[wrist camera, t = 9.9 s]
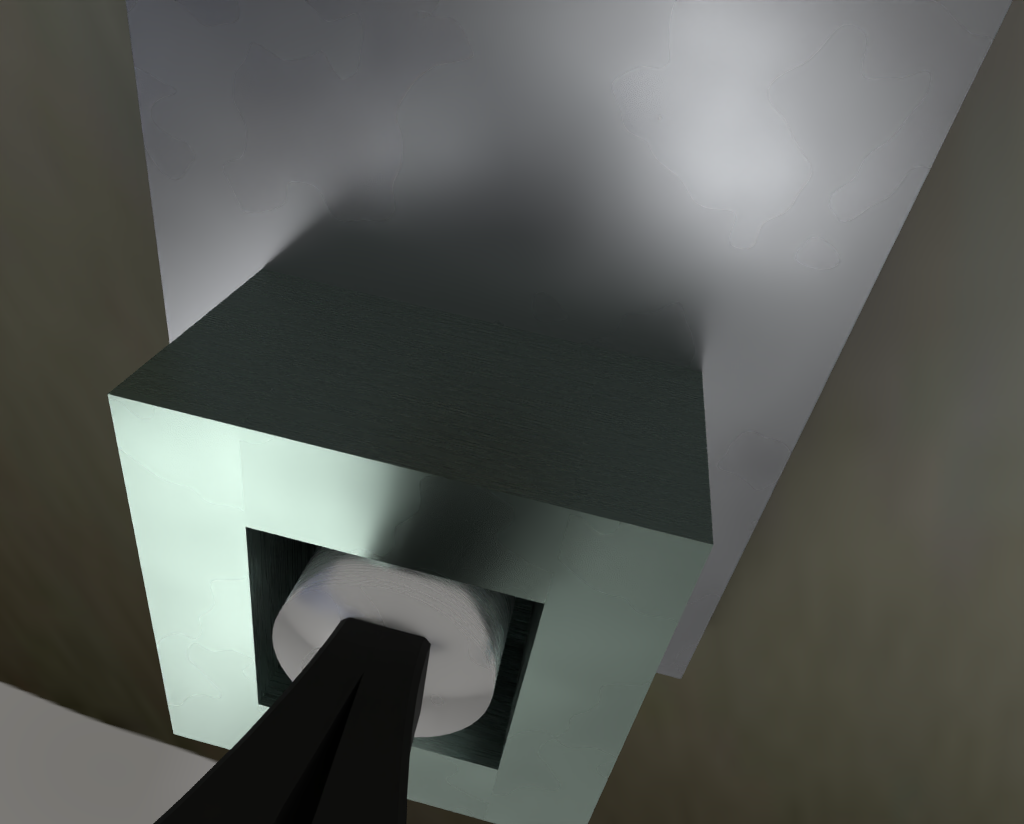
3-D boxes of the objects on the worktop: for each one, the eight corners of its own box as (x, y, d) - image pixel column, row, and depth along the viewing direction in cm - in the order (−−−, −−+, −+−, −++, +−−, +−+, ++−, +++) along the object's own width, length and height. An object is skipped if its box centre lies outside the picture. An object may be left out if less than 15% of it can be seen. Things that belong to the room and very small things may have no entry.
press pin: (358, 543, 16) (275, 703, 12) (365, 409, 14) (268, 559, 10) (518, 585, 16) (477, 758, 12) (550, 455, 13) (510, 622, 10)
